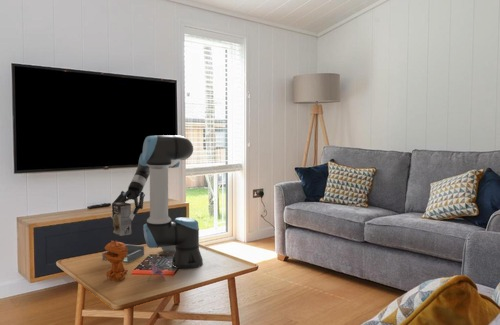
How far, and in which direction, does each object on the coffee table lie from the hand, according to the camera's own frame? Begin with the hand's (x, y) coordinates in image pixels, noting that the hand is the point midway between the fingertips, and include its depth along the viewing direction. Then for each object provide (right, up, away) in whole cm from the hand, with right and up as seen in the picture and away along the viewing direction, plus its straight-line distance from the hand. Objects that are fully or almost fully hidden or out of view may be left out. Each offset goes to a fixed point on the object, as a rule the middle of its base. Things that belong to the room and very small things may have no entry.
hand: (121, 218), depth 229 cm
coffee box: (0, -8, +1) cm, 8 cm away
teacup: (+24, -20, +15) cm, 34 cm away
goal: (0, -21, +3) cm, 21 cm away
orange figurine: (+7, -24, -31) cm, 39 cm away
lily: (+25, -24, -33) cm, 48 cm away
